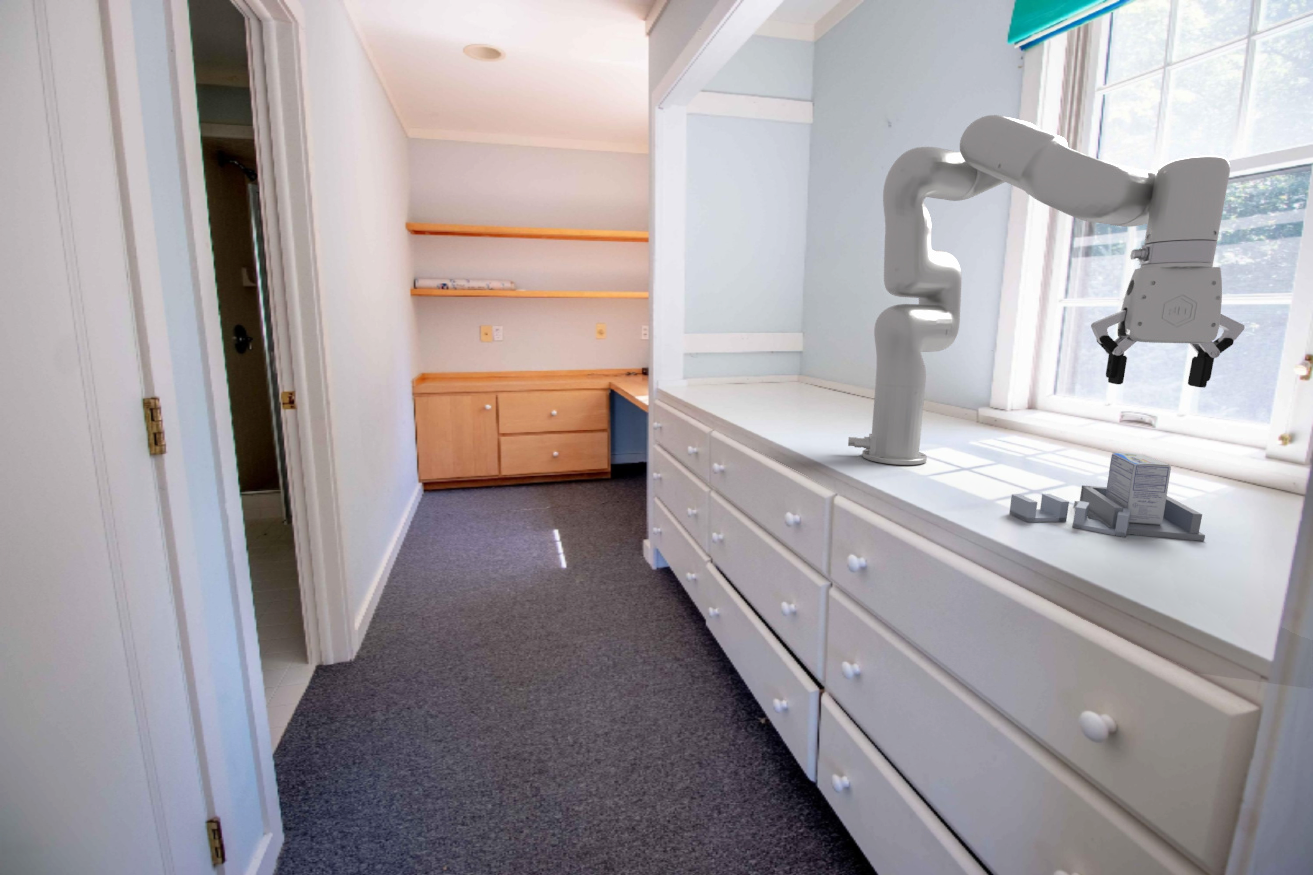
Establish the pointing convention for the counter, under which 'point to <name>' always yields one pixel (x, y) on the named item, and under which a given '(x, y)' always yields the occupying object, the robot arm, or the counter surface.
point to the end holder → (1175, 524)
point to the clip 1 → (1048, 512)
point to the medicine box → (1139, 486)
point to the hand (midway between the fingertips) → (1155, 384)
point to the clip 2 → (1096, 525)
